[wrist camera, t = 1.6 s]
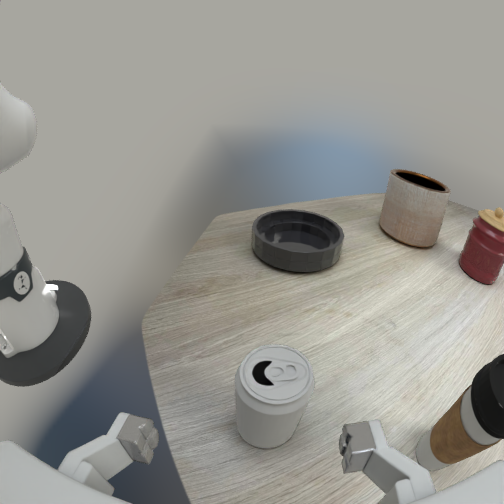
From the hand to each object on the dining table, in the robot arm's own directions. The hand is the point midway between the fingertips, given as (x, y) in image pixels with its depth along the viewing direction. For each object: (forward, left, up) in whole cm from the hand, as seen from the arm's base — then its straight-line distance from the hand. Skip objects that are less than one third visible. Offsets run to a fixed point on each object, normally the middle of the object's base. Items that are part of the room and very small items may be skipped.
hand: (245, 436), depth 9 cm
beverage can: (+1, +8, -19) cm, 20 cm away
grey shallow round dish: (+4, +46, -18) cm, 49 cm away
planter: (+36, +60, -19) cm, 72 cm away
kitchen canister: (+53, +44, -19) cm, 71 cm away
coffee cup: (+22, +3, -19) cm, 29 cm away
